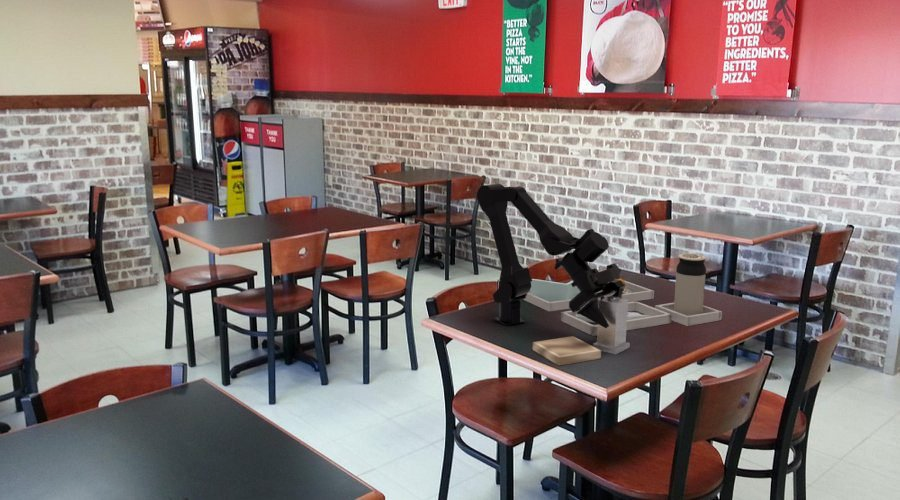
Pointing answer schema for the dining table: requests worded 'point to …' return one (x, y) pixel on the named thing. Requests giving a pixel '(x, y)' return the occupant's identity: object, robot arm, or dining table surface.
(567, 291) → the right angle wall
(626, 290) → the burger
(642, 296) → the tray
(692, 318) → the mug tray rim
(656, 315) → the casing tray rim
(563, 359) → the stand
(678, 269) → the travel mug
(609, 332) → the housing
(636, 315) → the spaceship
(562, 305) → the coaster tray rim
